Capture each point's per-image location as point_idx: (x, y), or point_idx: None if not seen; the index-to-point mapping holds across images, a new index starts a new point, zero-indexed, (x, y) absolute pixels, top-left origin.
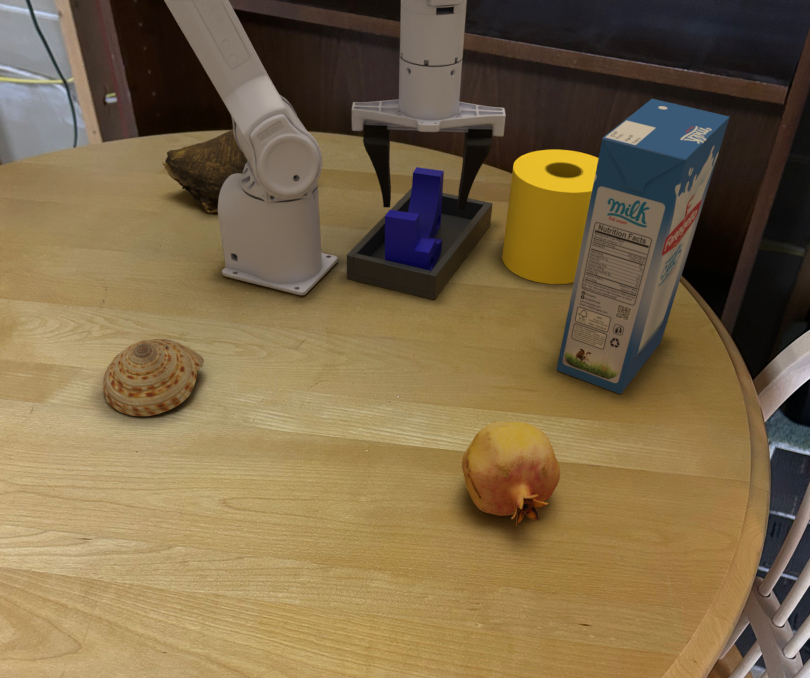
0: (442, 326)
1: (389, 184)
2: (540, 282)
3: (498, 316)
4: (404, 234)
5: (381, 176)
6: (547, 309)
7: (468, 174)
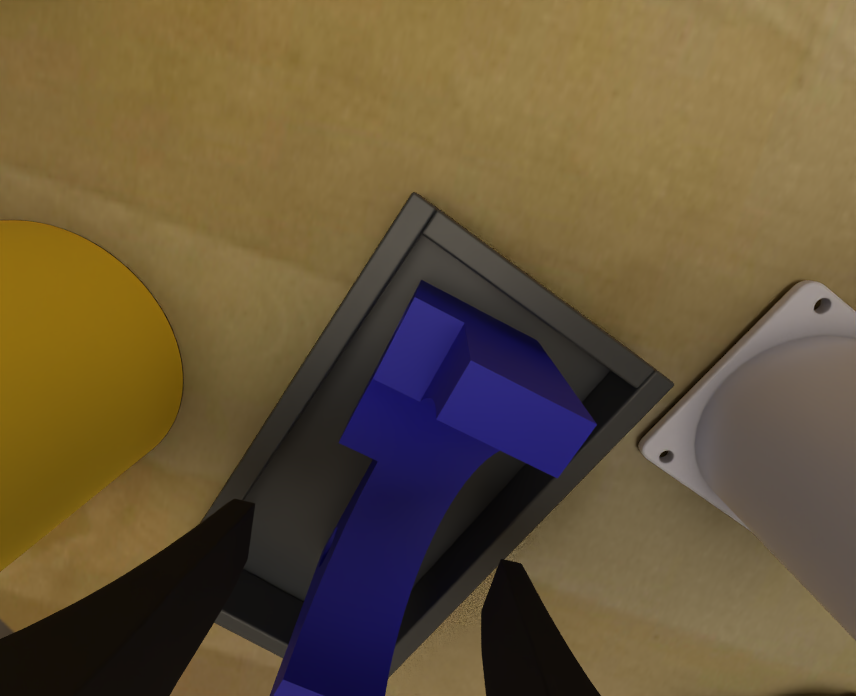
0: (429, 25)
1: (512, 643)
2: (86, 239)
3: (238, 59)
4: (504, 359)
5: (571, 674)
6: (77, 76)
7: (130, 602)
